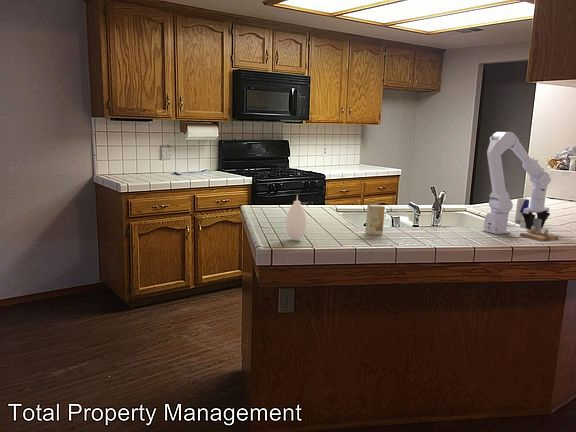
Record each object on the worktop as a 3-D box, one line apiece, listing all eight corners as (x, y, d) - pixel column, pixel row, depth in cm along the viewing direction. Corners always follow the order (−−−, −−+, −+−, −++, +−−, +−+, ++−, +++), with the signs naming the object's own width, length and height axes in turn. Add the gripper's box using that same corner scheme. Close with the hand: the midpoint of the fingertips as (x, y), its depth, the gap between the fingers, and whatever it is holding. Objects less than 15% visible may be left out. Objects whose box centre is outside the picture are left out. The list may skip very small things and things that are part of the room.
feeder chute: (525, 225, 231) (527, 215, 230) (539, 227, 226) (540, 217, 226) (519, 227, 225) (520, 217, 224) (533, 229, 220) (534, 219, 220)
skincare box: (369, 235, 197) (371, 206, 195) (364, 233, 201) (366, 204, 199) (383, 234, 199) (385, 206, 197) (378, 232, 203) (380, 204, 201)
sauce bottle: (281, 239, 184) (282, 193, 181) (295, 237, 190) (297, 192, 187) (295, 243, 179) (297, 196, 176) (309, 240, 184) (311, 194, 181)
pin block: (540, 241, 196) (541, 231, 195) (519, 235, 205) (520, 226, 204) (557, 239, 201) (559, 229, 200) (536, 234, 210) (538, 224, 209)
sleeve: (534, 233, 210) (536, 220, 209) (523, 231, 215) (525, 218, 214) (543, 233, 213) (545, 219, 211) (532, 230, 218) (534, 217, 216)
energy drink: (527, 224, 233) (530, 200, 231) (516, 223, 234) (519, 199, 232) (524, 222, 238) (527, 198, 236) (513, 221, 239) (516, 197, 237)
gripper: (540, 196, 218) (537, 225, 220) (518, 197, 211) (515, 227, 214) (555, 198, 211) (551, 228, 214) (532, 200, 205) (529, 230, 208)
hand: (534, 228), depth 214 cm, fingers open, 7 cm apart
